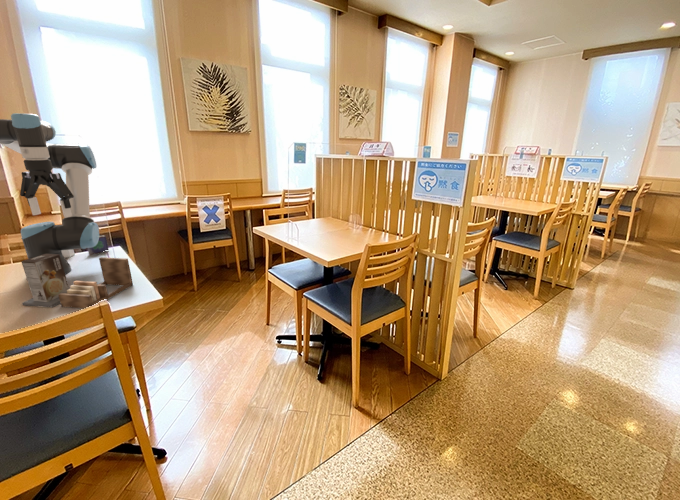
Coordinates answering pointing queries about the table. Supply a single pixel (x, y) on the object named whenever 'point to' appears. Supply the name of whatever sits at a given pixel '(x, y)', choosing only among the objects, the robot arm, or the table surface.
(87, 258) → the table surface
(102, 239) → the flask
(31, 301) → the rubber mat
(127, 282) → the walnut rack
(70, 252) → the jar
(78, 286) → the offcut stack
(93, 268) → the table surface
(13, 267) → the table surface
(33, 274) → the coffee box
